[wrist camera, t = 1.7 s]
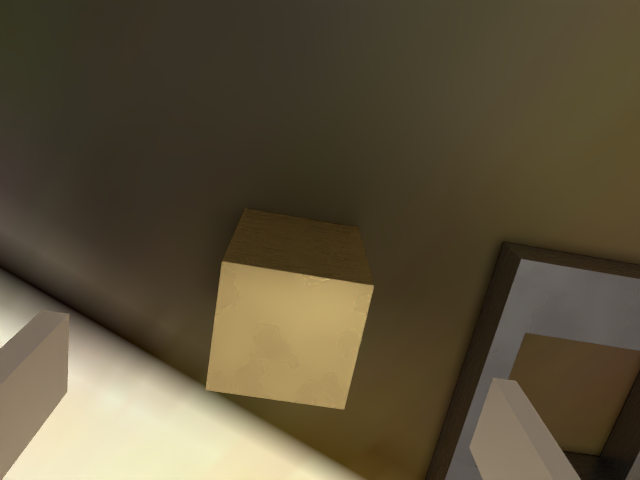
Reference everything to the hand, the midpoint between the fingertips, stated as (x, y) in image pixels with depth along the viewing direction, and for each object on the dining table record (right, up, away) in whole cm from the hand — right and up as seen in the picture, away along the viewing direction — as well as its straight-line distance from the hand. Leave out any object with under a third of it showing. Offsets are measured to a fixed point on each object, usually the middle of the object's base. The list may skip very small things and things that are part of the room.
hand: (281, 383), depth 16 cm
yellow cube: (0, +3, +7) cm, 8 cm away
